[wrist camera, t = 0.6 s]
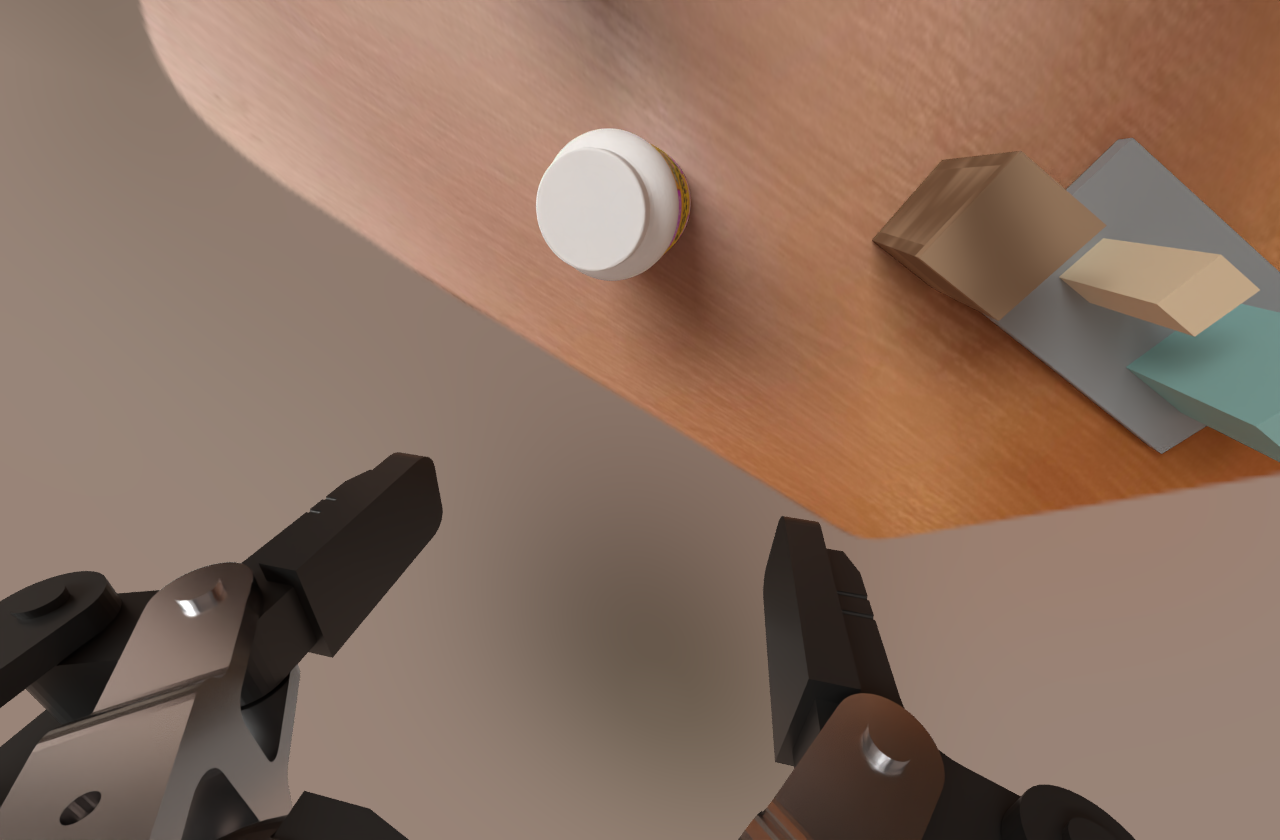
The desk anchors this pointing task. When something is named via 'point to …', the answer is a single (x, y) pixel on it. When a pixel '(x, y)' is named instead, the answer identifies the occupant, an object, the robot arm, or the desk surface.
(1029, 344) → the stand
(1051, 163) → the desk surface
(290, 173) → the desk surface
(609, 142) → the supplement bottle
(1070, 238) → the tall brown pillar
